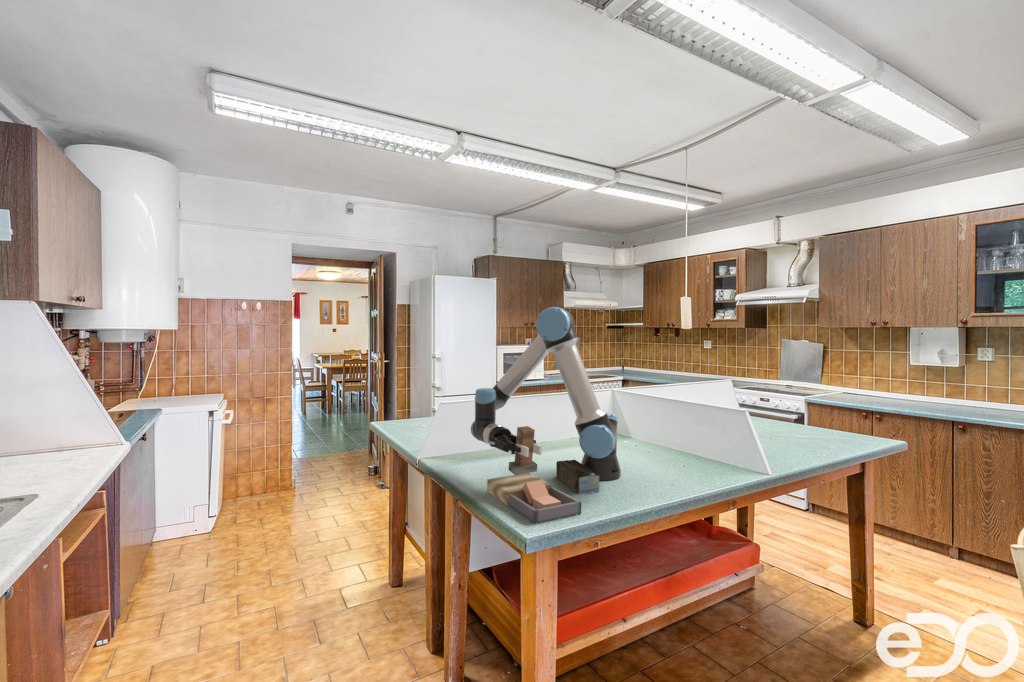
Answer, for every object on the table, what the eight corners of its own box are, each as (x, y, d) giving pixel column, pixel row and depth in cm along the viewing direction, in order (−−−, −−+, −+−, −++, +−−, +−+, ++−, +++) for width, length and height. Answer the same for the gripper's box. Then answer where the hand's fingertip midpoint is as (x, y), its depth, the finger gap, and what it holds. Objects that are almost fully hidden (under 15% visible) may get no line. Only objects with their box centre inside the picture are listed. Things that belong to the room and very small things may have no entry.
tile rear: (522, 487, 147) (525, 482, 145) (538, 485, 150) (542, 479, 148) (529, 505, 143) (533, 500, 141) (546, 502, 146) (550, 496, 144)
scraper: (508, 469, 152) (511, 427, 150) (529, 466, 156) (532, 425, 154) (515, 475, 148) (518, 432, 146) (536, 471, 152) (540, 429, 150)
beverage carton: (578, 495, 155) (578, 475, 155) (555, 477, 173) (555, 459, 173) (599, 493, 158) (600, 473, 157) (574, 475, 176) (575, 458, 176)
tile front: (543, 504, 136) (543, 515, 136) (560, 501, 139) (560, 511, 139) (532, 498, 141) (532, 508, 141) (549, 495, 144) (549, 504, 144)
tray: (508, 505, 144) (508, 494, 144) (551, 497, 152) (552, 486, 152) (535, 524, 131) (535, 511, 131) (581, 513, 139) (581, 502, 139)
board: (487, 491, 156) (487, 479, 156) (528, 484, 164) (528, 472, 164) (507, 505, 144) (508, 492, 144) (551, 497, 152) (551, 484, 152)
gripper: (518, 444, 171) (556, 459, 151) (475, 450, 162) (510, 467, 142) (518, 423, 171) (556, 436, 150) (475, 428, 162) (510, 442, 142)
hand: (534, 451), depth 146 cm, fingers closed on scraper, 4 cm apart
